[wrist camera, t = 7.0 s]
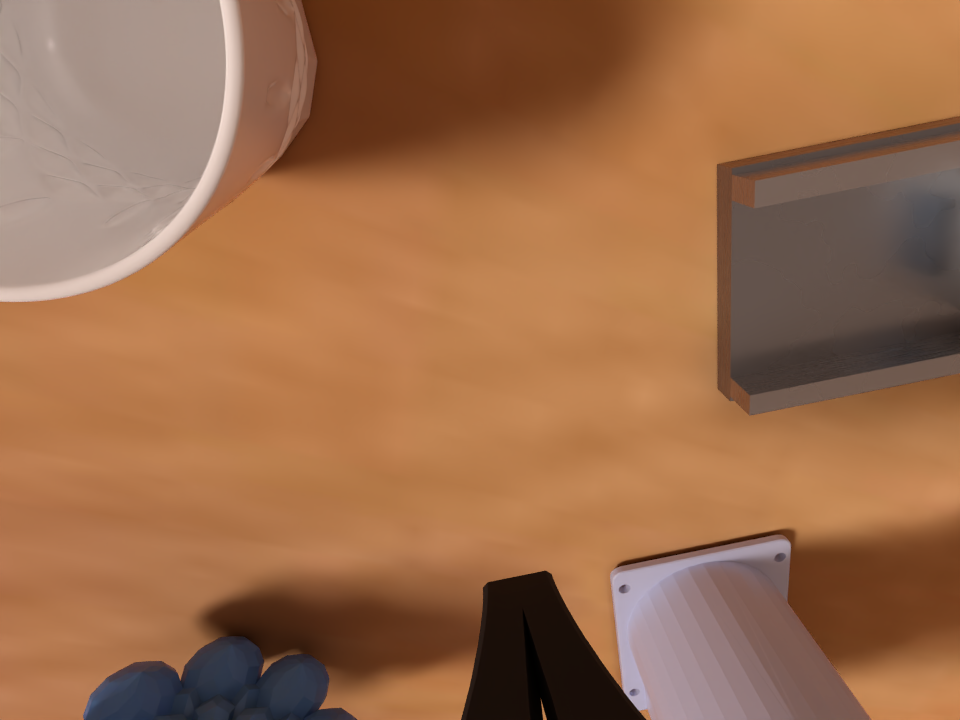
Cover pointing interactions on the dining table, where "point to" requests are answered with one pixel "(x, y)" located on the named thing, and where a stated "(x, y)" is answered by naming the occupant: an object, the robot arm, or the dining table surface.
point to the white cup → (135, 128)
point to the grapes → (217, 688)
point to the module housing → (839, 267)
